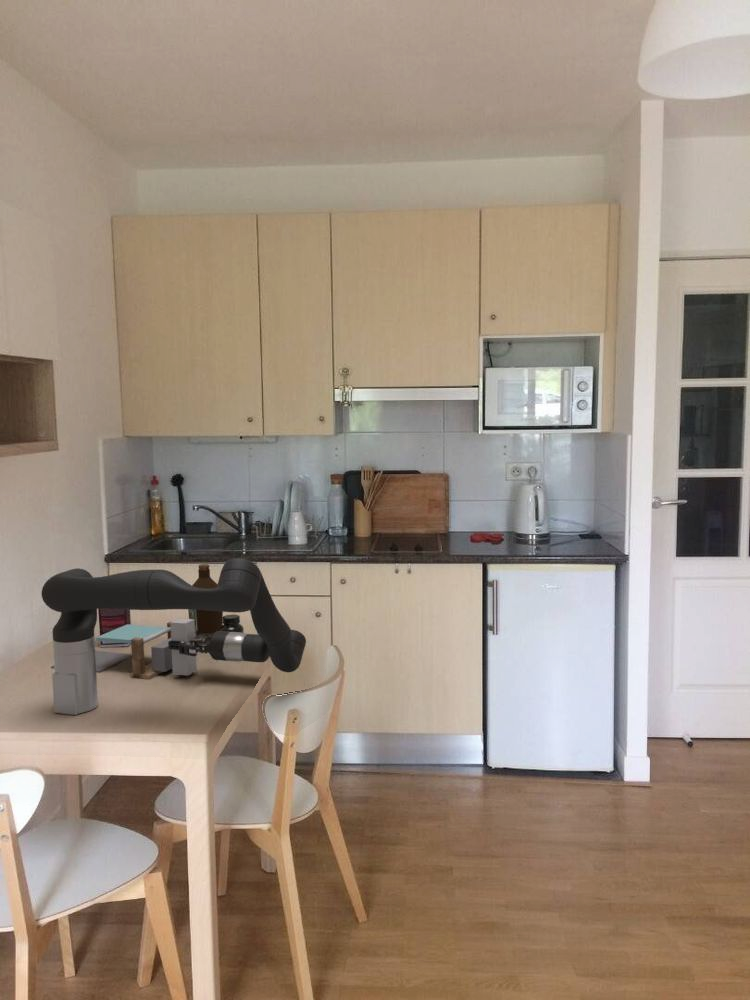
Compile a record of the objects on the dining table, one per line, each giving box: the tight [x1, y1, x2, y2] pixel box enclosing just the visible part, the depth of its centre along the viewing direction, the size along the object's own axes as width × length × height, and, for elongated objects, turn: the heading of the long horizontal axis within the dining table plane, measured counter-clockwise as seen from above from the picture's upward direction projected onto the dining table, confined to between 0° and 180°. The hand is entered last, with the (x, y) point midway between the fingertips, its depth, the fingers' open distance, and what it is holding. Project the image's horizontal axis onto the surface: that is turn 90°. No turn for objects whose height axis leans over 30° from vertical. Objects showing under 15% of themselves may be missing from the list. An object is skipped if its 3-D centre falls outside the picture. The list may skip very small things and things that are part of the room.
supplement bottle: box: [220, 613, 245, 633], centre depth 223 cm, size 7×7×12 cm
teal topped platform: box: [95, 624, 173, 673], centre depth 215 cm, size 21×14×8 cm, turn 73°
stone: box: [169, 618, 197, 676], centre depth 206 cm, size 4×4×14 cm
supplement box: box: [97, 609, 132, 648], centre depth 237 cm, size 9×5×16 cm, turn 94°
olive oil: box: [187, 563, 224, 636], centre depth 233 cm, size 11×11×25 cm
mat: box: [50, 650, 132, 673], centre depth 221 cm, size 16×16×1 cm
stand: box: [129, 621, 171, 680], centre depth 214 cm, size 6×19×10 cm, turn 163°
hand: (174, 642), depth 206 cm, fingers closed on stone, 4 cm apart
